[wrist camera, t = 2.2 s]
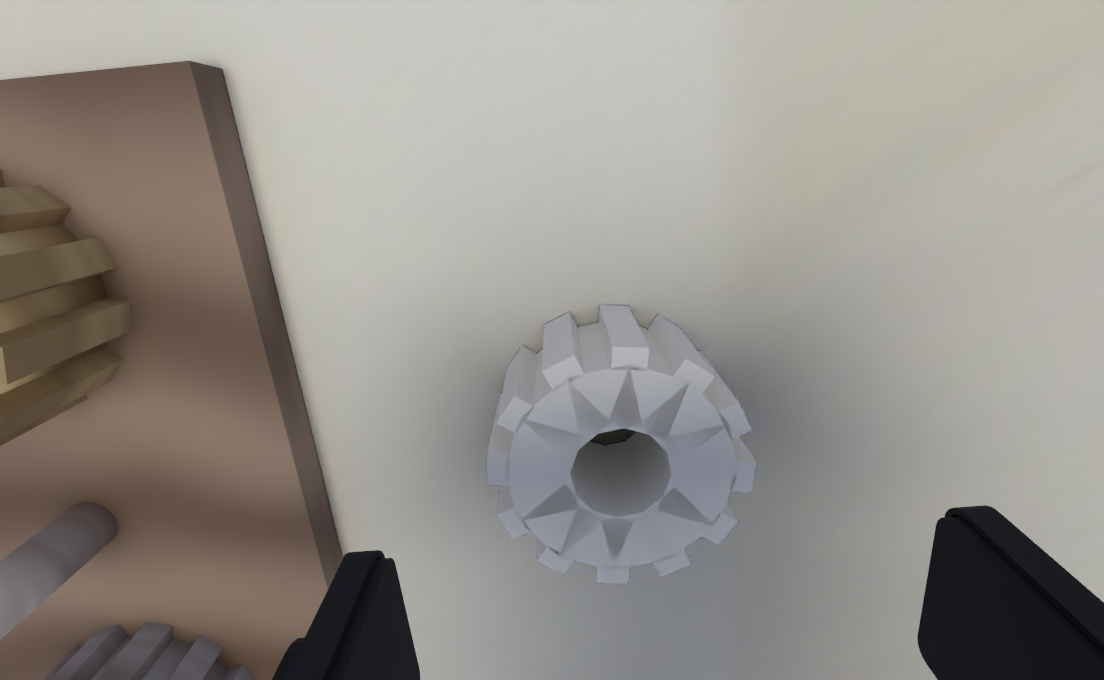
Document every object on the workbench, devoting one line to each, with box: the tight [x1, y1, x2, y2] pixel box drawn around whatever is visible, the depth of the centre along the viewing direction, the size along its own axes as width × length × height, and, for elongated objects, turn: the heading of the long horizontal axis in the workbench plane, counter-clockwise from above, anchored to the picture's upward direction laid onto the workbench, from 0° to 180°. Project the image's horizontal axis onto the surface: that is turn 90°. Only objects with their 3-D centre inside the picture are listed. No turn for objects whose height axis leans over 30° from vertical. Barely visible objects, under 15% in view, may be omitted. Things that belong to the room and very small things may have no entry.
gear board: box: [0, 61, 343, 680], centre depth 17 cm, size 26×14×8 cm, turn 5°
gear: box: [487, 305, 757, 584], centre depth 17 cm, size 7×7×4 cm
